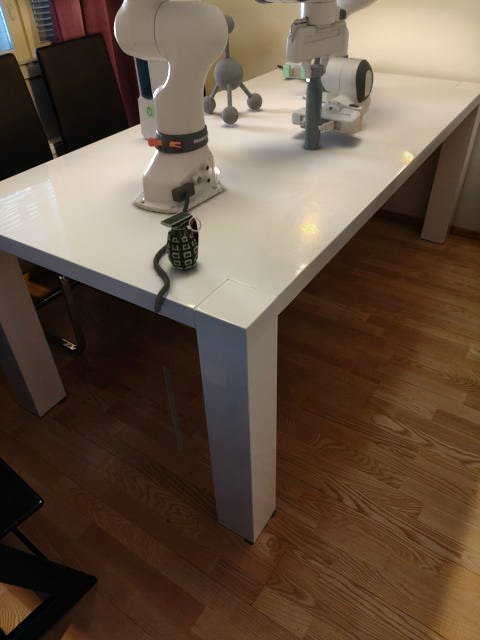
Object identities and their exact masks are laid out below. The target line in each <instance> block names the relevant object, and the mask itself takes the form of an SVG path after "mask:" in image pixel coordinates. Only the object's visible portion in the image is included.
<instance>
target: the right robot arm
mask: <svg viewBox="0 0 480 640" xmlns="http://www.w3.org/2000/svg"><path fill="white" fill-rule="evenodd" d="M377 1H378V0H337V5H338V6H340V7H342V8H344V9H347V10H348V17H350V16H351V15H353V14H355V13H358V12H360V11H361V10H364V9H365V10H366V8H369V7H370V6H372V5H374V3H376V2H377ZM298 4H299V5H300V3H298ZM349 38H350V30H349V28H348V27H347V29H346V41H345V46H344V49H343V50H342V51H340V52H337V53H333V54H330V59H329V62H328V64H327V67H326V74H324V75H323V76H321V83H322V87H323V96H322V103H324V104H322V114H321V124H319V125H318V131H320V133H324V132H326V131H328V132H337V133H343V134H348V135H350V134H351V135H352V134H355V133H357V132H359V131H360V130H361V129H362V125H363V118H364V116H365V115H366V114H367V113H368V111H369V109H370V107H371V103H372V97H371V93H372V89H373V85H374V71H373V69H372V66H371V64H370V62H369V61H368V60H367V59H363V58H355V57H349V54H348V52H349V40H350V39H349ZM320 62H321V59H320V57H319V58H315V59H314V63H313V64H320ZM277 67H278V68H280V69H283V65H280V64H277ZM305 80H306V81H305V82H308V81H309V79H305ZM303 98H304V99H306V92H305V93H304V94H303ZM305 110H306V106H304V107H299V108H297V109H294V110H293V111H292V112H291V123H292V124H293V125H296V126H299V128H300V129H302V130H303V129H304V130H305ZM361 131H362V130H361Z"/></svg>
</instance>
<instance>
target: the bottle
mask: <svg viewBox="0 0 480 640" xmlns="http://www.w3.org/2000/svg"><path fill="white" fill-rule="evenodd" d="M305 93H306V98H305V107H306V110H305V129H304V137H303V139H304V140H303V141H304V142H303V148H304V149H306V150H311V151H313V150H315V151H316V150H318V149H320V146H321V132H320V131H318V125H319V124H321V114H322V106H323V102H322V96H323V87H322V83H321V77H313V78H310V79H309V81H307V85H306V89H305Z"/></svg>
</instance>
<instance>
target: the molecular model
mask: <svg viewBox="0 0 480 640" xmlns="http://www.w3.org/2000/svg"><path fill="white" fill-rule="evenodd" d="M223 15H224V17H225V19H226V22H227V26H228V41H227V45H226V48H225V50H224V57H223V58H222V59H220V60H219V61H218V62H217V63H216V65H215V66H214V70H213V79H214V82H215V85H214V87H213V89H212V92H211V94H210V95H205V96H203V98H204V113H205V114H211V113H213V112H215V110H216V108H217V102H216V100H215V96H216V94H217V93H218V90H219V89H221V90H223V91H226V99H227V100H226V101H227V102H226V104H227V106H226V107H224V108H223V110H222V112H221V118H222V121H223V122H224V123H225V124H227V125H234V124H236V123H237V121H238V119H239V117H240V116H239V115H240V114H239V111H238V109H237V108H236V107H235V106H233V98H232V97H233V92H232V91H235V90H236V89H238V88H240V89H241V90H242V91H243V93H244V94H245V96H247V99H246V104H247V107H248V108H249V109H250V110H252V111H257V110H260V108H261V107H262V106H263V97H262V96H261V95H260V94H259V93H257V92H253V93H252V92H251V91H250V90H249V89H248V88H247V87H246V85H245V84H244V83H243V80H244V69H243V67H242V64H241V63H240V62H239V61H238V60H237V59H236V58H233V57H231V55H230V37H229V35H230V34H232V33H233V31H234V29H235V20H234V19H233V17H232V16H231V15H229V14H228V13H227V14H224V13H223Z"/></svg>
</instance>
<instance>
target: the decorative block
mask: <svg viewBox="0 0 480 640" xmlns="http://www.w3.org/2000/svg"><path fill="white" fill-rule="evenodd" d="M313 63H314V59H312V60H311V64H313ZM311 64H310V65H311ZM282 66H283V68H282V77H283V78H288V79H297V80H306V79H305V77H304V69H303V67H302V62H301V63H290V62H288V61H286V62H285V63H284V64H283V65H282Z"/></svg>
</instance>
